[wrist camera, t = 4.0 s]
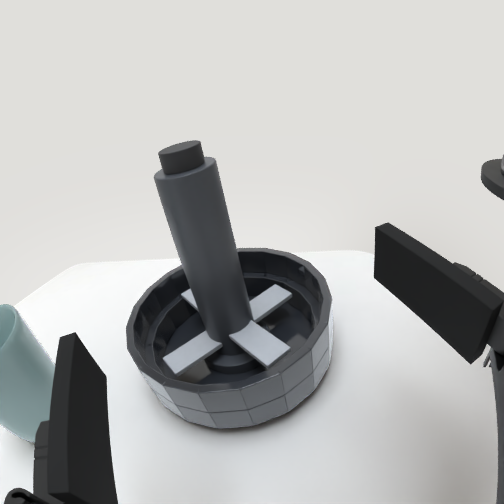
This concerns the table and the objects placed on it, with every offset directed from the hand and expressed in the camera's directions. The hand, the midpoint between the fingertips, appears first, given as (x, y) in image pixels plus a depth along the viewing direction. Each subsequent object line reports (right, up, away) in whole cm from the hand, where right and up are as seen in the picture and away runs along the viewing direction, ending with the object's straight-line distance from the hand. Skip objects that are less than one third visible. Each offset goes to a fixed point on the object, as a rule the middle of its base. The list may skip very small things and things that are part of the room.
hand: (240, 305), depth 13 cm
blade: (-1, -5, +12) cm, 13 cm away
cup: (-17, -12, +8) cm, 23 cm away
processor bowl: (-1, -6, +13) cm, 14 cm away
